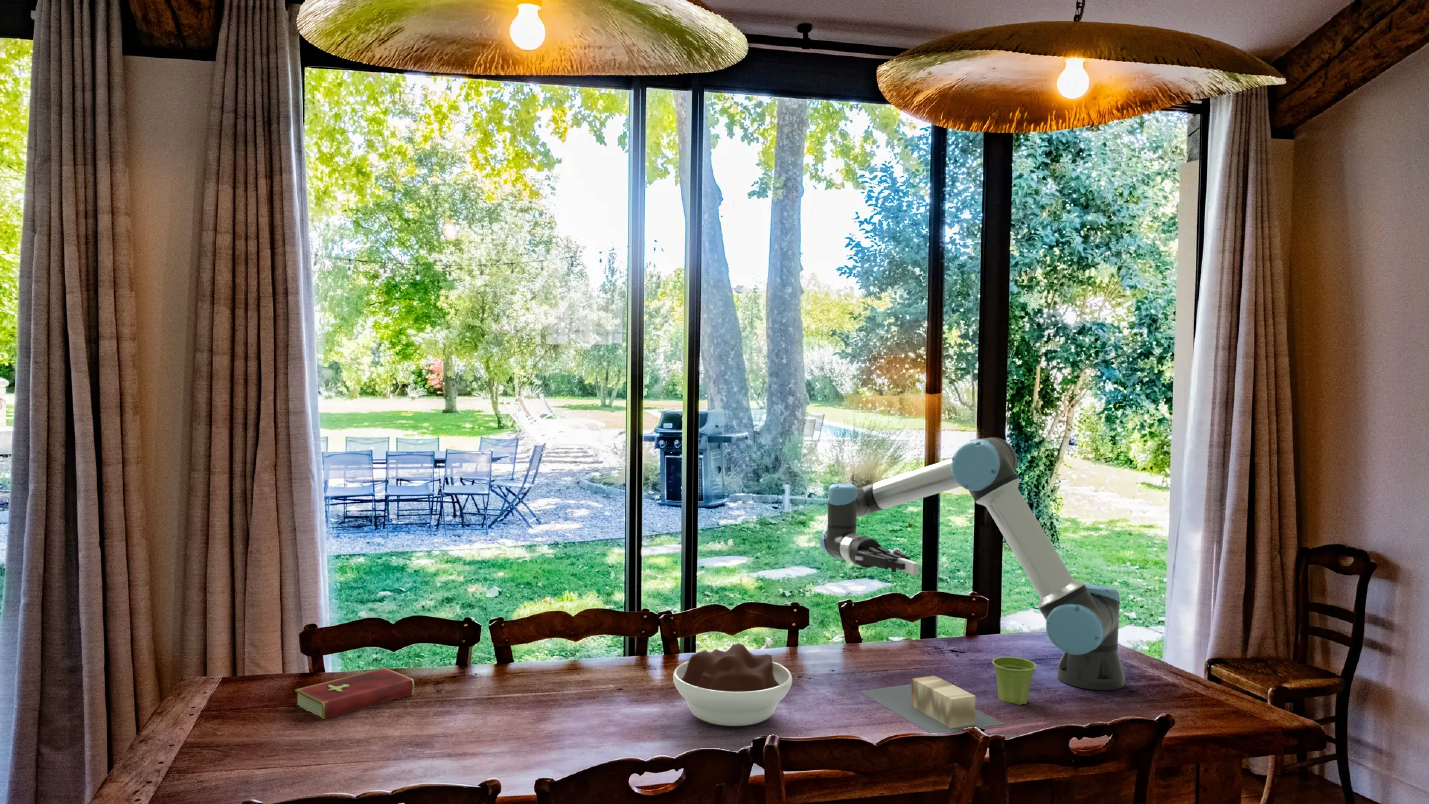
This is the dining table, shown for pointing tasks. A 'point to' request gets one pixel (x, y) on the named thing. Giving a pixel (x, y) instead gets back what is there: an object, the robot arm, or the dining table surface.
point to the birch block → (943, 701)
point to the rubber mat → (901, 705)
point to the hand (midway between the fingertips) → (916, 569)
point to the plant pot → (1013, 678)
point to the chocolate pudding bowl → (732, 686)
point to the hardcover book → (354, 692)
